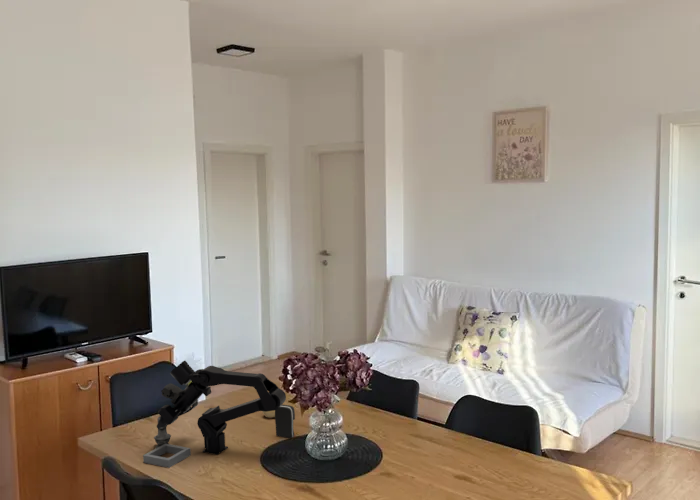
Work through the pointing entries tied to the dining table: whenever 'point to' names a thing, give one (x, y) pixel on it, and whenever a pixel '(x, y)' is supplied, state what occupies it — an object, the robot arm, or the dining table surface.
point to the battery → (284, 421)
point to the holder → (155, 458)
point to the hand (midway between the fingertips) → (164, 422)
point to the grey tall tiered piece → (162, 436)
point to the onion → (269, 413)
